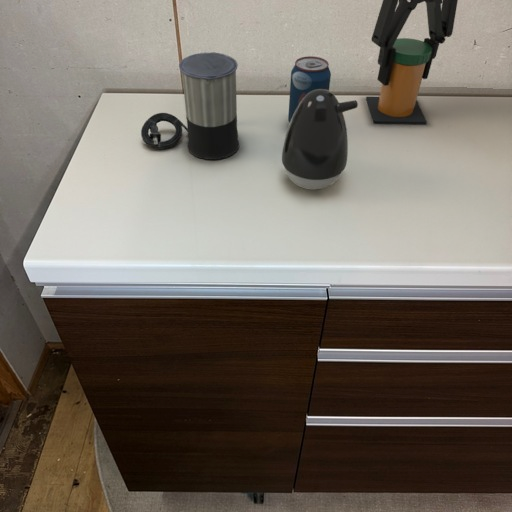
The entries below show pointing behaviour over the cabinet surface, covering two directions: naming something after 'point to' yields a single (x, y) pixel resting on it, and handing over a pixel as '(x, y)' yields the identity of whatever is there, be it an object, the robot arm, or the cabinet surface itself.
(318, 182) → the pump dispenser
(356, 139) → the cabinet surface
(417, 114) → the mat
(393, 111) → the jar
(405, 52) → the jar lid
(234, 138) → the milk frother
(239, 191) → the cabinet surface
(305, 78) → the soda can
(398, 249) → the cabinet surface
